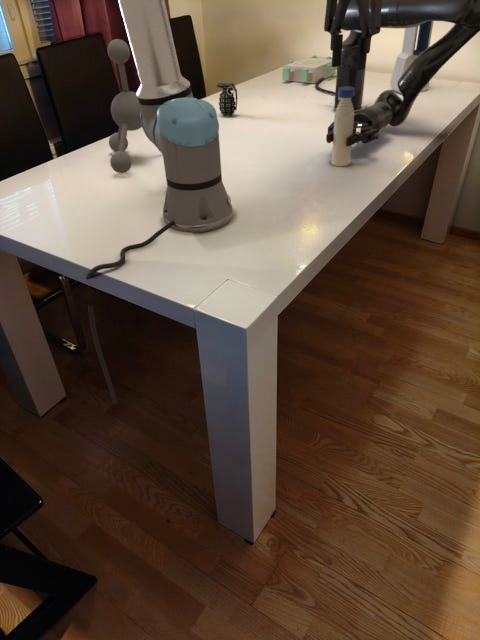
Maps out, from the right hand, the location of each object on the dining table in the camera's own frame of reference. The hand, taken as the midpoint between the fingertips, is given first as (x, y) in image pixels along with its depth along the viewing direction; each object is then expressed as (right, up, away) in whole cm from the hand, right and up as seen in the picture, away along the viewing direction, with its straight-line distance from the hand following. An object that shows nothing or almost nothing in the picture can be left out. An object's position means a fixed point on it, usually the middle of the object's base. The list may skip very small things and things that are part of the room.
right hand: (337, 140), depth 124 cm
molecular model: (-52, 0, +15) cm, 54 cm away
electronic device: (+39, +42, +61) cm, 84 cm away
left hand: (+1, +14, -8) cm, 17 cm away
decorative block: (+5, +58, +86) cm, 104 cm away
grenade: (-29, +26, +46) cm, 60 cm away
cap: (+1, +10, -5) cm, 12 cm away
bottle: (+2, -4, +6) cm, 7 cm away
